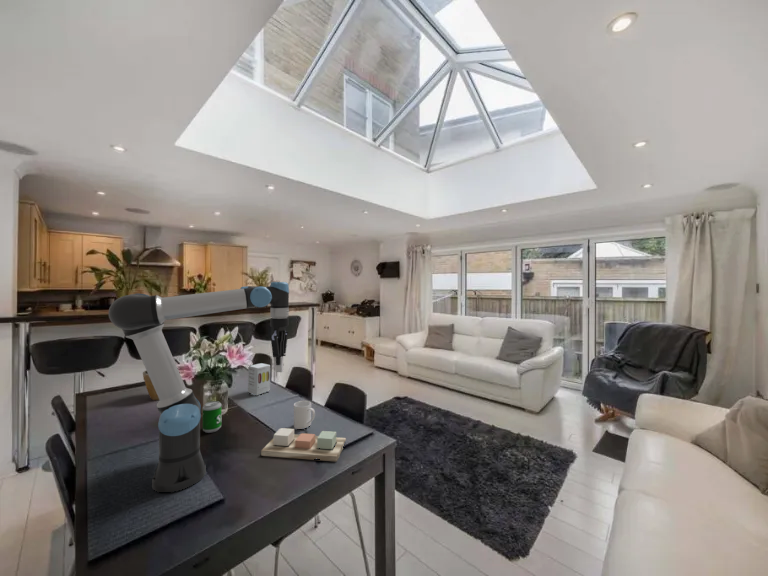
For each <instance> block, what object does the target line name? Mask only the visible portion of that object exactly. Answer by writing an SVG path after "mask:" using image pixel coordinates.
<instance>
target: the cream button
mask: <svg viewBox="0 0 768 576" xmlns="http://www.w3.org/2000/svg"><path fill="white" fill-rule="evenodd" d="M294 434H295V428H288V427H287V428H285V427H283V428H282V427H280V428H278V430H277V431H275V433H274V434H273V438H274V445H278V446H280V447H289V446H290V445H291V442H292V441H293V439H294Z"/></svg>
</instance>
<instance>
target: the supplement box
mask: <svg viewBox="0 0 768 576" xmlns="http://www.w3.org/2000/svg"><path fill="white" fill-rule="evenodd" d="M249 366H250V367H247V368H248V370H247V374H248V375H247V393H248V392H250V393H253V394H256V395H258V394H261V393H263V392H266V391H269V390H270V391H271V365H270V364H267V363H262V362H261V363H256V364H251V365H249Z"/></svg>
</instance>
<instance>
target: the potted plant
mask: <svg viewBox="0 0 768 576" xmlns="http://www.w3.org/2000/svg"><path fill="white" fill-rule="evenodd" d="M142 376H143V377H142V378H143V381H144V382H145V387H146V390H147V393H148V396H149V398H150V399H151V400H153V401H159V397H158V395H157V393H156V391H155V388H154V386H153V384H152V382H151V379H150V377H149V375H148V372H147V370H146V369H145V370H144V371H142Z"/></svg>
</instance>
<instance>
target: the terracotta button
mask: <svg viewBox="0 0 768 576" xmlns="http://www.w3.org/2000/svg"><path fill="white" fill-rule="evenodd" d="M298 435H299V437H298V438H297V439H296V440H295V448H305V449H311V447H312V446H313V444H314V443H315V436H316V433H315V434H314V433H305V432H304V433H300V434H298Z"/></svg>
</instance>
